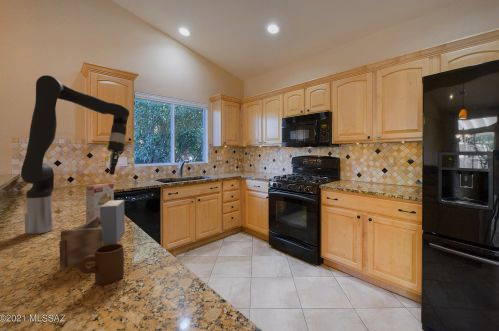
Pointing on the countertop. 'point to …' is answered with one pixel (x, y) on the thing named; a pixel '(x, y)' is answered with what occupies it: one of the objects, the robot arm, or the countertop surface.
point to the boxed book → (112, 221)
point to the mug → (105, 264)
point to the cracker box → (97, 199)
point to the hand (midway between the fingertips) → (111, 174)
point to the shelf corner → (80, 243)
